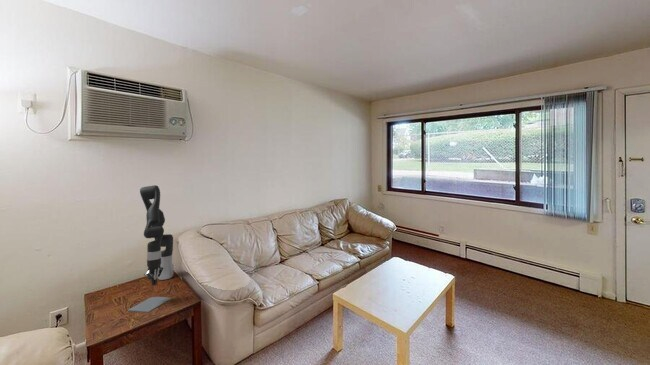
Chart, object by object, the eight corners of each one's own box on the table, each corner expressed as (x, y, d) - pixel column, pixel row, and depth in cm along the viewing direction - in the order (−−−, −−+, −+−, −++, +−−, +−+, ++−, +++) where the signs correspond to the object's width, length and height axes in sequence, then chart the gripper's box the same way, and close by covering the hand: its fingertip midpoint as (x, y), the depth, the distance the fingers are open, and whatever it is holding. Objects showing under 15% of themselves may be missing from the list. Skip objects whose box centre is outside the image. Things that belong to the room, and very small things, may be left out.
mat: (152, 297, 167) (152, 296, 167) (171, 298, 165) (171, 297, 165) (127, 311, 149) (127, 310, 149) (148, 312, 147) (148, 311, 147)
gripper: (157, 254, 167) (157, 280, 167) (139, 260, 154) (140, 289, 154) (167, 255, 166) (167, 281, 166) (150, 261, 153) (150, 289, 153)
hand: (154, 285), depth 160 cm, fingers closed
